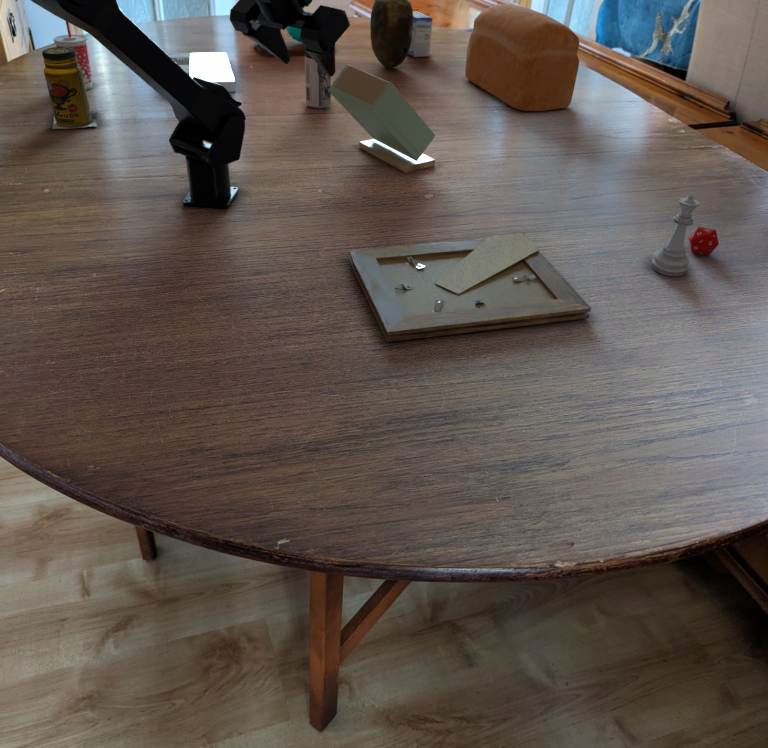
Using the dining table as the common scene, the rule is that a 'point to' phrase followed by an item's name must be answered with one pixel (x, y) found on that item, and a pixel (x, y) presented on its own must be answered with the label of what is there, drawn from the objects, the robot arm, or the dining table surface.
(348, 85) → the green rectangular box
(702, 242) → the die
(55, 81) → the condiment
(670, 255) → the chess piece
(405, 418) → the dining table surface
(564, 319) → the picture frame
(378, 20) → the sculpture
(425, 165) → the shelf foot
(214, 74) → the book
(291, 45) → the contraption on wooden base
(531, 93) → the bread
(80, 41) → the beverage cup
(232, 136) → the robot arm
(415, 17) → the medicine box
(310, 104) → the beer can
